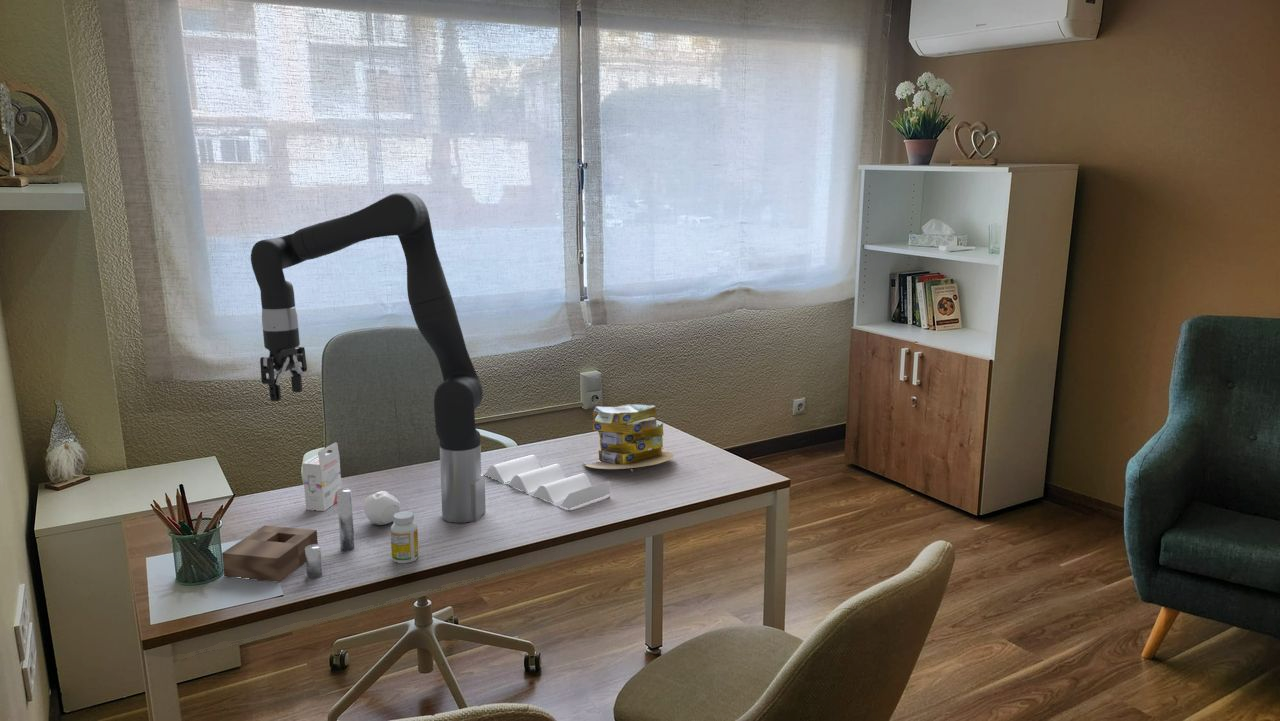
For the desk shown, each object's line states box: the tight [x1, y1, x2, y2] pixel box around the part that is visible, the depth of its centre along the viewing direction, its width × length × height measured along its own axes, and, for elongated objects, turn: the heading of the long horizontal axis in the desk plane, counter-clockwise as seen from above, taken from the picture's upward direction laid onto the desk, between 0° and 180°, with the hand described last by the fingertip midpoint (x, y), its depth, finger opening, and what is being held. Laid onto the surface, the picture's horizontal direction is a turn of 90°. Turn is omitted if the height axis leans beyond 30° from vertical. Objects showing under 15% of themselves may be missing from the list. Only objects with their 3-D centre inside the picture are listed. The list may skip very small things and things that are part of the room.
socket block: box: [221, 525, 319, 583], centre depth 176 cm, size 12×14×5 cm
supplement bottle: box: [390, 510, 419, 564], centre depth 179 cm, size 5×5×10 cm
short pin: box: [305, 544, 323, 580], centre depth 172 cm, size 3×3×6 cm
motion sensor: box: [363, 490, 401, 526], centre depth 197 cm, size 8×8×8 cm
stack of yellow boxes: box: [585, 403, 675, 470], centre depth 238 cm, size 25×25×17 cm
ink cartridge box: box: [301, 441, 343, 512], centre depth 207 cm, size 9×5×15 cm, turn 168°
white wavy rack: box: [484, 454, 611, 509], centre depth 222 cm, size 13×35×5 cm, turn 45°
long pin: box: [337, 487, 355, 552], centre depth 183 cm, size 3×3×13 cm
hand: (287, 396), depth 201 cm, fingers open, 8 cm apart
